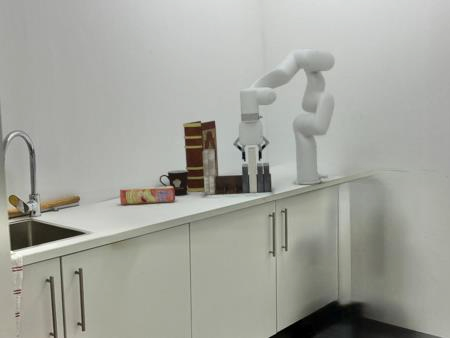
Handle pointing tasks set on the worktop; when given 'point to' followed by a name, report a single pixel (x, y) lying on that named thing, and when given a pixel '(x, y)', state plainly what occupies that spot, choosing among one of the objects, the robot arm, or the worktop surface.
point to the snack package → (147, 195)
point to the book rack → (233, 178)
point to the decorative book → (198, 151)
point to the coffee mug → (178, 181)
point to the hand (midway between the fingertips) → (252, 160)
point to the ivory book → (252, 169)
